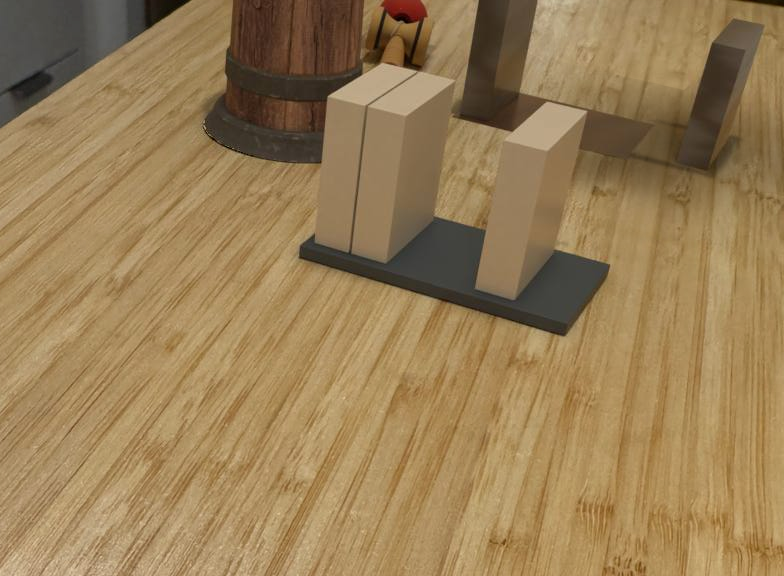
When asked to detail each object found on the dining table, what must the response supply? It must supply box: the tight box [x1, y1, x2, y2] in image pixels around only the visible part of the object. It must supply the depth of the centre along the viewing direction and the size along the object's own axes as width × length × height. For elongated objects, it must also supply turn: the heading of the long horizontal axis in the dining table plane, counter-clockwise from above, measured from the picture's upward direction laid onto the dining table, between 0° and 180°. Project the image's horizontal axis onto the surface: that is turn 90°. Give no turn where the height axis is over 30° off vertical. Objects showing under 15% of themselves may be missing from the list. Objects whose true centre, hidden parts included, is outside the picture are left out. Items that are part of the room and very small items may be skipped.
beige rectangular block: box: [475, 102, 587, 300], centre depth 85 cm, size 3×10×11 cm, turn 154°
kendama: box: [364, 0, 435, 68], centre depth 126 cm, size 8×6×18 cm
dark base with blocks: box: [298, 63, 611, 336], centre depth 87 cm, size 22×12×12 cm, turn 63°
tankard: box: [204, 0, 365, 164], centre depth 106 cm, size 24×17×20 cm
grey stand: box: [451, 0, 765, 172], centre depth 111 cm, size 26×12×12 cm, turn 63°
